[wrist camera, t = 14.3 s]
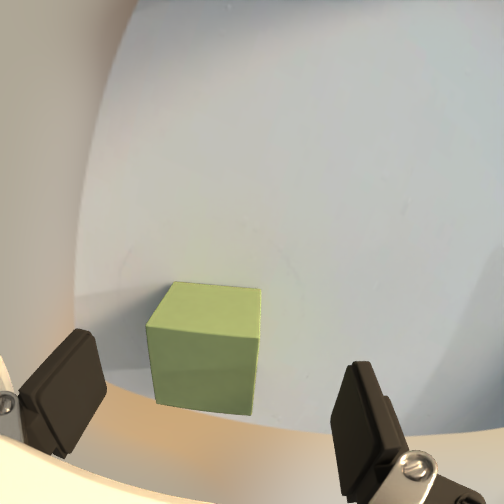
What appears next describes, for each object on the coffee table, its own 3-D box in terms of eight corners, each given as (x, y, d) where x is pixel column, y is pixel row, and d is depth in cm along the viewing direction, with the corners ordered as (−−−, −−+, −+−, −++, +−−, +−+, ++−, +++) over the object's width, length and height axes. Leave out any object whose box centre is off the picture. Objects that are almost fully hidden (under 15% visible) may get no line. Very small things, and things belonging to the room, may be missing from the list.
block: (177, 351, 15) (155, 404, 11) (174, 281, 14) (144, 324, 10) (254, 359, 15) (251, 416, 11) (261, 288, 14) (259, 337, 10)
